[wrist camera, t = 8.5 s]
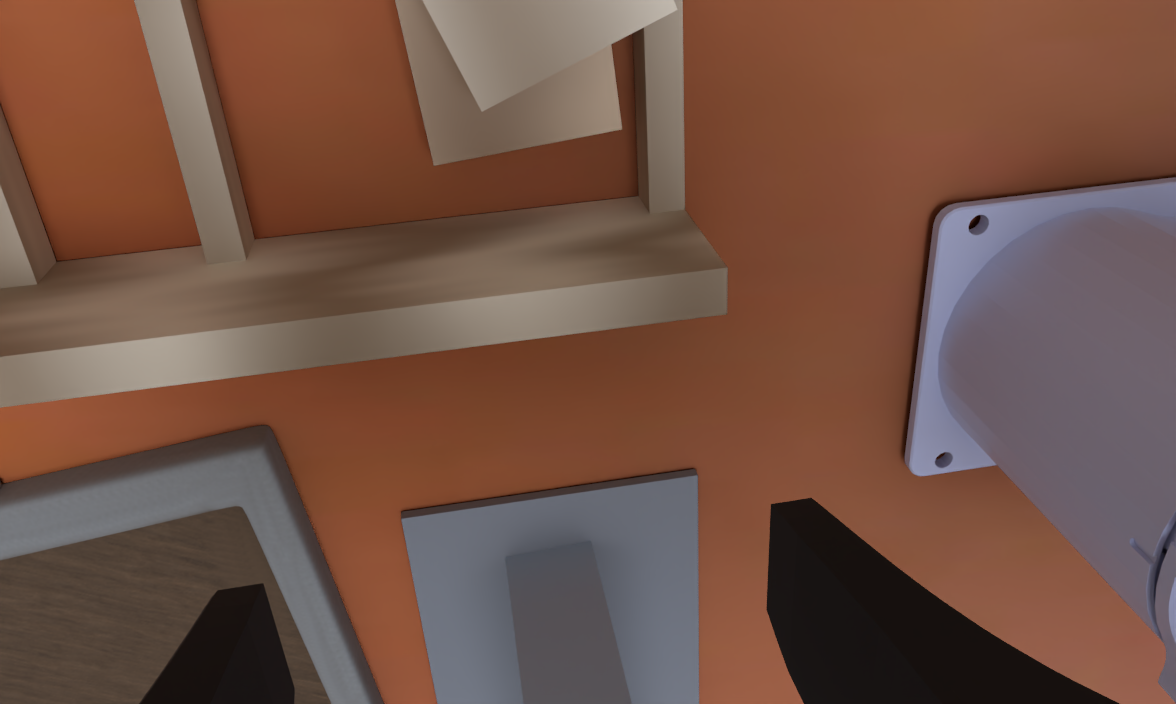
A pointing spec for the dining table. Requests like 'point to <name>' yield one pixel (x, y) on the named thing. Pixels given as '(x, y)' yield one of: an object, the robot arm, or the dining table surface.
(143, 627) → the grey rimmed tray
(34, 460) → the dining table surface
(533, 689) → the upright grey-blue panel
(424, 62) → the offcut long
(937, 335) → the robot arm
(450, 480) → the dining table surface
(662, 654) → the mat
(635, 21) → the offcut short
